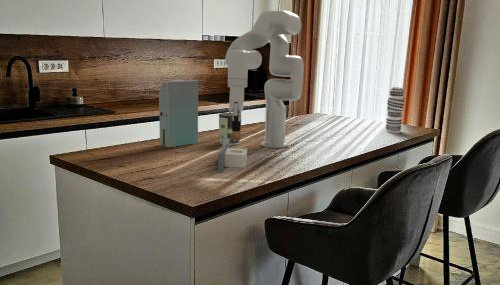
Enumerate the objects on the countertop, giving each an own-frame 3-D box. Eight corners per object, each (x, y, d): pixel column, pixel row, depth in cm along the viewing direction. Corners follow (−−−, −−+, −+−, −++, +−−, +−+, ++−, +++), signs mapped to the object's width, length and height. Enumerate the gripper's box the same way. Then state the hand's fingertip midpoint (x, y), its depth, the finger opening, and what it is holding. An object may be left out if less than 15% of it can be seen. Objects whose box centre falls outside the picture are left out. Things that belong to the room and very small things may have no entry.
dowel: (232, 138, 182) (233, 113, 180) (240, 138, 181) (241, 113, 179) (231, 139, 178) (232, 114, 176) (240, 140, 178) (240, 114, 176)
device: (189, 140, 225) (188, 79, 219) (198, 143, 220) (198, 80, 213) (159, 145, 214) (158, 80, 208) (168, 148, 209) (167, 82, 202)
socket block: (227, 160, 187) (227, 148, 186) (246, 160, 187) (247, 148, 186) (224, 166, 178) (224, 154, 177) (245, 167, 177) (245, 154, 176)
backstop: (225, 156, 196) (226, 138, 195) (269, 158, 196) (269, 139, 194) (218, 175, 169) (218, 154, 167) (268, 177, 168) (269, 155, 167)
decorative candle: (403, 133, 259) (408, 88, 254) (387, 132, 259) (391, 88, 254) (398, 130, 268) (403, 87, 263) (382, 129, 268) (386, 86, 263)
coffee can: (241, 141, 227) (242, 113, 224) (237, 145, 217) (237, 116, 214) (221, 140, 229) (221, 112, 226) (215, 144, 219) (216, 115, 216)
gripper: (229, 81, 184) (228, 126, 187) (225, 84, 168) (224, 133, 171) (248, 81, 183) (247, 127, 187) (246, 85, 167) (244, 134, 171)
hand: (236, 129), depth 179 cm, fingers closed on dowel, 3 cm apart
